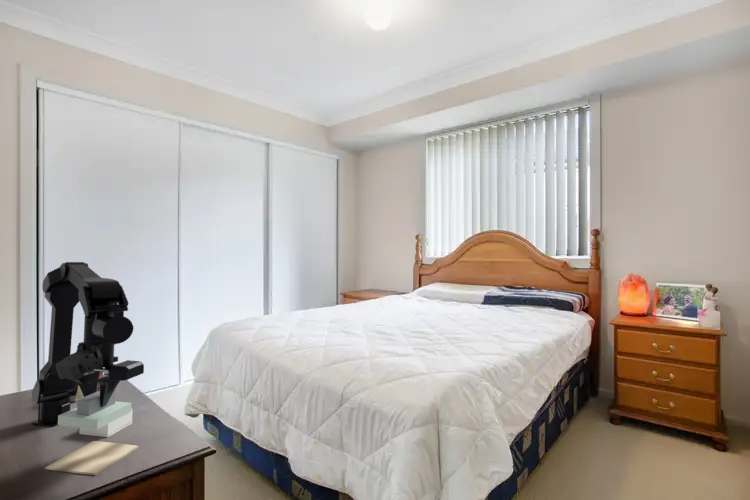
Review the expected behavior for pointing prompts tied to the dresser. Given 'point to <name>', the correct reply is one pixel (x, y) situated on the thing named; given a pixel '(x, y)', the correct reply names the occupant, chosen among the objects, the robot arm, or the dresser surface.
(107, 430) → the storage box
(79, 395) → the ghost figurine
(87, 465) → the cork mat
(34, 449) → the dresser surface
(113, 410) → the lid
